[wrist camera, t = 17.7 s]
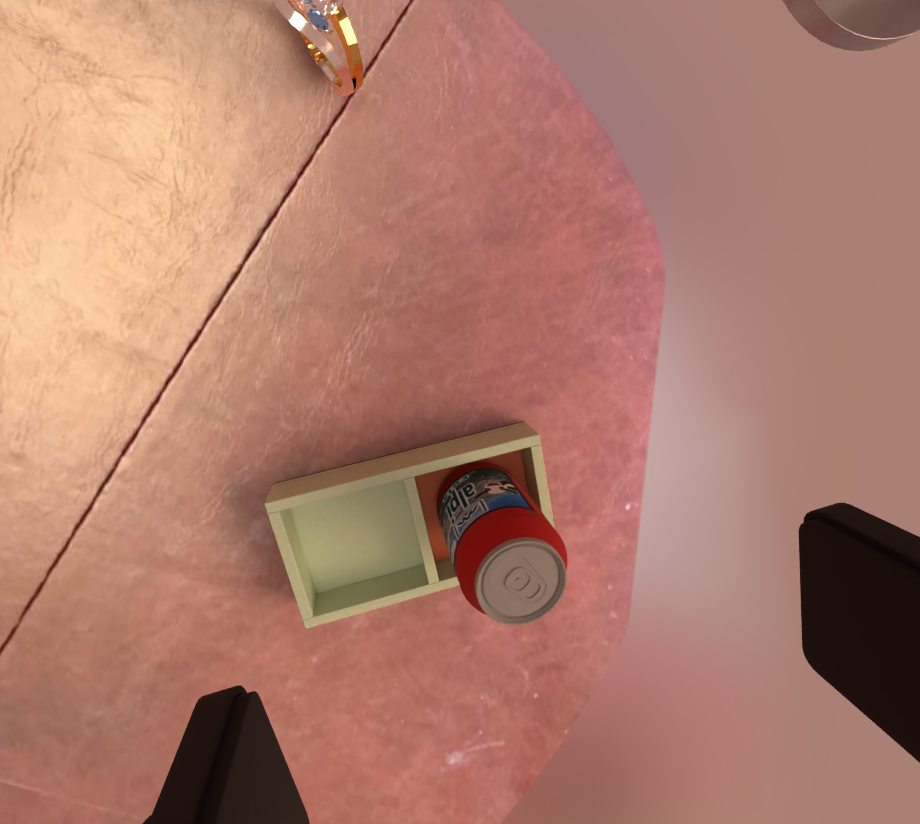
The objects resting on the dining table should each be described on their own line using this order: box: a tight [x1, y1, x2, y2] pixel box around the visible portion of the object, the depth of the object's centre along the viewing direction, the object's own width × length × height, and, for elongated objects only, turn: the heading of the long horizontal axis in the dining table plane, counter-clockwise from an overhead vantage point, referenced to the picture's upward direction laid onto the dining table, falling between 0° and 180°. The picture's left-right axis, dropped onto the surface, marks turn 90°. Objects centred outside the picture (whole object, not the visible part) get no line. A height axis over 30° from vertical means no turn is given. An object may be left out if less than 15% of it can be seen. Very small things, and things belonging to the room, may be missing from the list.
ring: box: [274, 0, 363, 97], centre depth 29 cm, size 7×3×8 cm, turn 32°
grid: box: [264, 422, 555, 629], centre depth 39 cm, size 10×20×4 cm, turn 101°
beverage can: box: [437, 463, 567, 625], centre depth 35 cm, size 7×7×12 cm
